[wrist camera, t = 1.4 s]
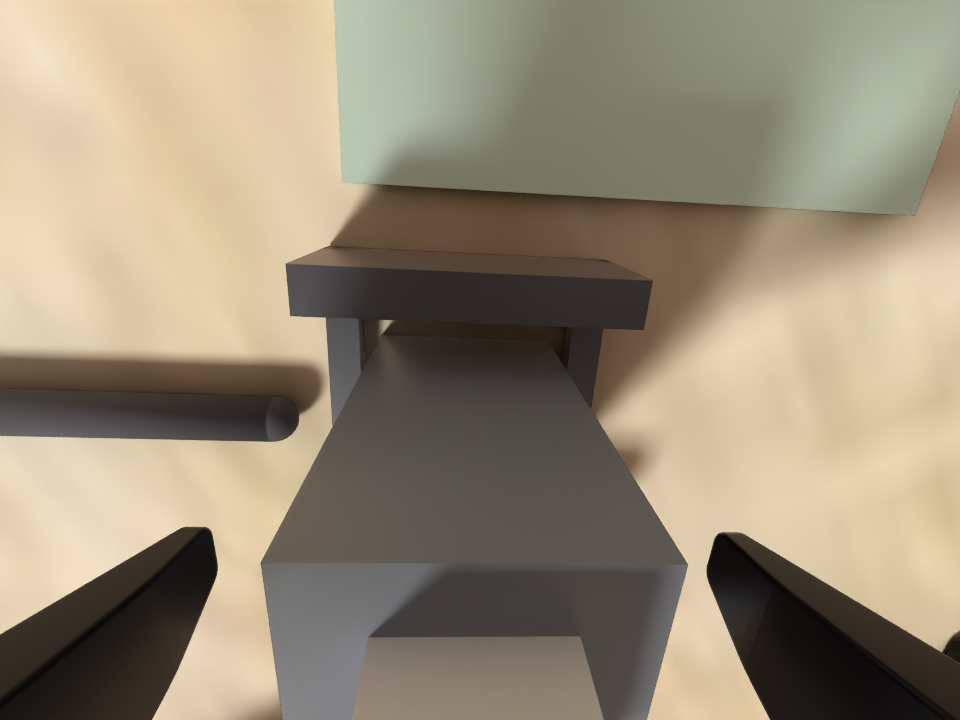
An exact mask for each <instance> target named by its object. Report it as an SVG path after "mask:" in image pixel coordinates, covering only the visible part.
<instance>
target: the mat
mask: <svg viewBox="0 0 960 720" xmlns="http://www.w3.org/2000/svg"><path fill="white" fill-rule="evenodd" d="M334 15H335V37H336V59H337V81H338V103H339V125H340V147H341V169H342V182H346V183H363V184H380V185H397V186H414V187H431V188H448V189H465V190H482V191H499V192H517V193H534V194H551V195H568V196H585V197H602V198H619V199H636V200H653V201H670V202H687V203H704V204H721V205H739V206H756V207H773V208H790V209H807V210H824V211H841V212H858V213H875V214H892V215H912V216H915V214H916V211H917V208H918V205H919V203H920V200H921V197H922V194H923V192H924V189H925V186H926V183H927V180H928V178H929V175H930V172H931V169H932V167H933V164H934V161H935V158H936V156H937V153H938V150H939V147H940V144H941V142H942V139H943V136H944V133H945V131H946V128H947V125H948V122H949V120H950V117H951V114H952V111H953V109H954V106H955V103H956V100H957V97H958V95H959V92H960V0H334Z"/></svg>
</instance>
